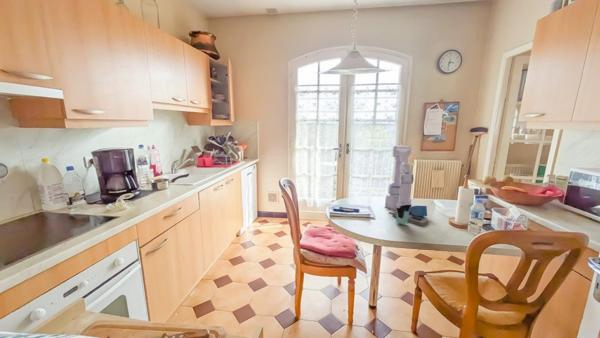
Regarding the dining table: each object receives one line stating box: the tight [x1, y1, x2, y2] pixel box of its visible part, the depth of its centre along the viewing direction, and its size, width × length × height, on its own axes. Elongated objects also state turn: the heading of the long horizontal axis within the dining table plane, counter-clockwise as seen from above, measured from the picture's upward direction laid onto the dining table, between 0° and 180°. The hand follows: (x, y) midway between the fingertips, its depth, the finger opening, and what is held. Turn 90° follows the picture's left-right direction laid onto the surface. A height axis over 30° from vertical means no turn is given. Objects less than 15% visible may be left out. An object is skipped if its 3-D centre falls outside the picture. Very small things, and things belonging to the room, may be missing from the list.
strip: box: [388, 210, 429, 227], centre depth 148 cm, size 22×7×3 cm, turn 41°
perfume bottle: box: [408, 205, 428, 217], centre depth 150 cm, size 6×6×12 cm
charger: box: [395, 211, 409, 226], centre depth 139 cm, size 5×4×7 cm
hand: (402, 216), depth 139 cm, fingers closed on charger, 4 cm apart
